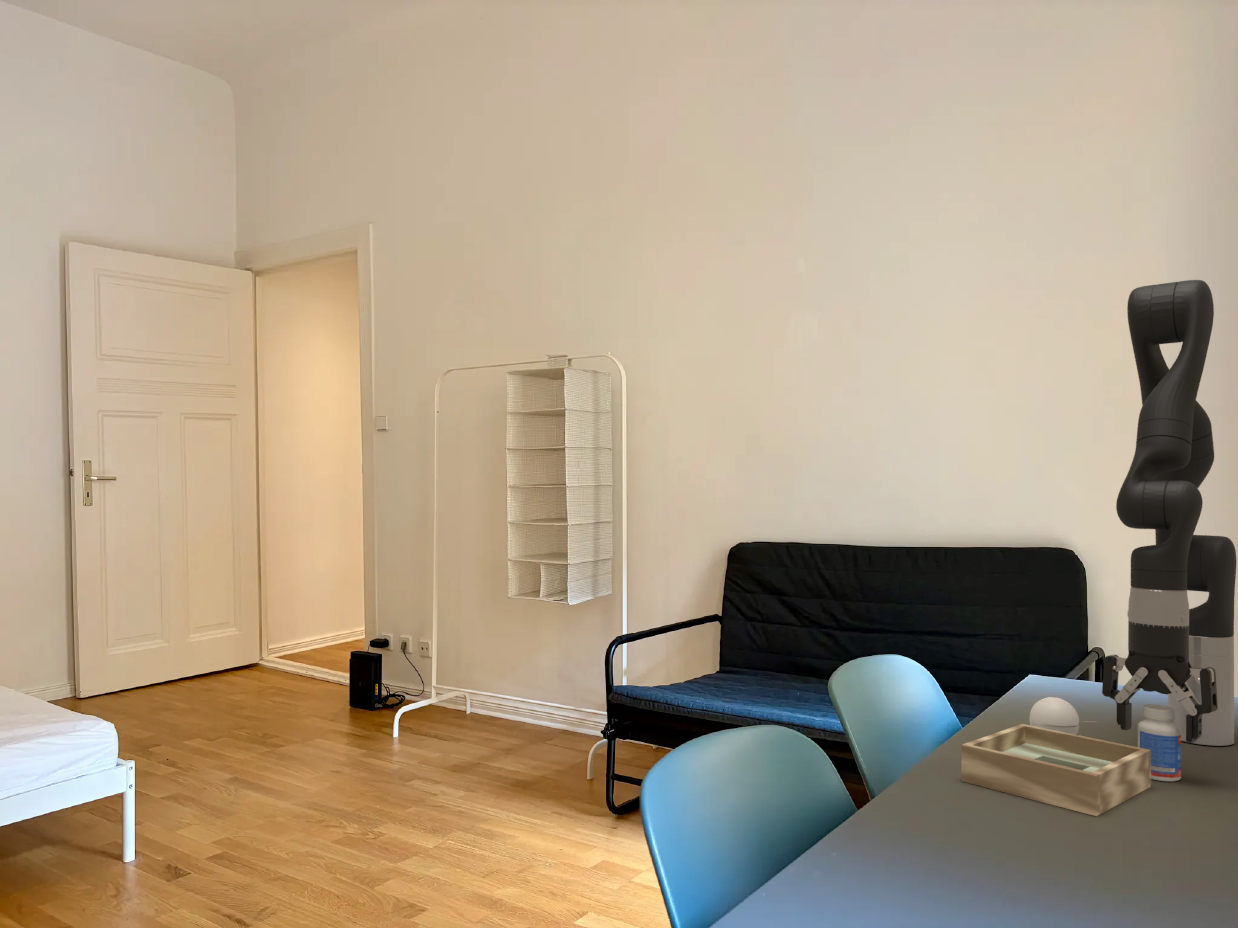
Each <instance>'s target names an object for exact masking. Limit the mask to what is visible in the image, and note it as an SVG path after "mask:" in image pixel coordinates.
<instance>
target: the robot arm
mask: <svg viewBox="0 0 1238 928" xmlns="http://www.w3.org/2000/svg"><path fill="white" fill-rule="evenodd" d="M1126 306H1127V309H1126V310H1127V312H1126V313H1127V322H1128V329H1129V335H1130V340H1131V344H1132V350H1133V354H1134V360H1135V365H1136V369H1137V370H1136V371H1137V375H1138V381H1139V388H1140V389H1139V390H1140V395H1141V408H1140V411H1139V416H1138V421H1137V430H1136V441H1135V452H1134V455H1133V458H1132V461H1131V463H1130V466H1129V470H1128V472H1127V474H1126V476H1125V478H1124V481H1123V483H1122V485H1121V487H1120V489H1119V491H1118V494H1117V499H1116V502H1115V503H1116V506H1115V508H1116V509H1115V510H1116V514H1117V517H1118V518H1119V520H1120V521H1121V523H1122V524H1123V525H1124V526H1125V527H1128V528H1130V529H1136V530H1138V529H1139V530H1154V531H1155V532H1154V533H1155V544H1151V545H1143V546H1139V547H1136V548H1134V549H1133V550H1132V552H1131V555H1130V591H1129V597H1128V610H1127V618H1128V622H1127V624H1128V627H1127V628H1128V630H1127V632H1128V634H1127V635H1128V637H1127V638H1128V639H1127V640H1128V641H1127V642H1128V644H1127V647H1128V648H1127V651H1128V654H1127V657H1126V658H1125V657H1122V656H1121V657H1120V656H1119V655H1118V654H1110V655H1106V656H1105V657H1104V659H1103V675H1102V689H1101V693H1102V695H1103V696H1104V697H1107V698H1110V699H1111V700H1114V701H1115V704H1116V723H1117V726H1120V730H1121V731H1122V730H1123V731H1128V730H1131V729H1132V724H1133V723H1132V722H1133V721H1132V712H1133V711H1132V709H1133V708H1132V707H1133V705H1132V702H1130V700H1131V699H1132V698H1133V697H1134V696H1135V695H1136V693H1138V692H1139V691H1140V690H1143V692H1150V693H1151V692H1157V693H1159V694H1161V695H1167V706H1169V707H1172V708H1174V709H1175V716H1176V717H1175V720H1173V722H1174V723H1175V724H1177V725H1178V726H1179V727H1180V729H1181V742H1186V743H1189V744H1190V743H1191V744H1196V745H1203V746H1205V745H1206V746H1216V747H1219V746H1220V747H1223V746H1230V745H1231V746H1232V745H1234V744H1235V637H1234V636H1235V631H1234V630H1235V626H1234V625H1235V596H1236V595H1235V593H1236V592H1235V590H1236V578H1237V551H1236V548H1235V547H1236V546H1235V544H1234V542H1233V541H1232V540H1231V538H1230V537H1227V536H1224V535H1207V534H1206V535H1205V534H1203V535H1202V534H1194V533H1195V531H1196V529H1197V525H1198V522H1199V520H1200V516H1201V514H1202V510H1203V497H1202V493H1201V491H1200V490H1199V488H1200V486H1201V485H1202V484H1203V482H1204V480H1205V479H1206V477H1207V476H1208V475H1209V473H1210V471H1211V469H1212V466H1213V464H1214V461H1215V449H1214V447H1215V446H1214V439H1213V438H1214V437H1213V427H1212V422H1211V419H1210V417H1209V415H1208V414H1207V411H1206V410H1205V409H1204V407H1202V405H1201V404H1200V403H1199V402H1198V401H1197V397H1198V392H1199V388H1200V384H1201V381H1202V377H1203V376H1202V375H1203V372H1204V368H1205V364H1206V358H1207V356H1208V355H1207V354H1208V349H1209V345H1210V341H1211V336H1212V331H1213V327H1214V325H1213V324H1214V315H1215V313H1214V312H1215V308H1214V300H1213V293H1212V291H1211V288H1210V286H1209V285H1208V283H1206V281H1205V280H1201V279H1188V280H1181V281H1180V280H1179V281H1173V282H1165V283H1157V284H1151V285H1143V286H1139V287H1136V288H1134V289H1133V290H1131V292H1130V293H1129V296H1128V299H1127V305H1126ZM1177 343H1178V344H1179V343H1182V344H1181V348H1180V350H1179V353H1178V355H1177V357H1176V358H1175V361H1174V362H1173V363H1172V365H1171V367H1170V368H1169V366H1168V365H1167V362H1166V361H1165V358H1164V356H1163V352H1162V350H1161V346H1160V345H1166V344H1177ZM1188 591H1189V592H1190V591H1191V592H1192V591H1193V592H1205V593H1208V597H1207V599H1206V601H1205V602H1203V603H1202V604H1200V605H1197V606H1194V607H1192V608H1190V603H1189V597H1188ZM1124 666H1125V668H1126V670H1127V671H1128V673H1129V674H1130V675H1131V678H1130V679H1129V680H1128V681H1127V682H1126V683H1125V684H1124V685H1123V686H1122V688H1121V690H1119V689H1118V685H1119V672H1120V671H1122V670H1123V668H1124Z"/></svg>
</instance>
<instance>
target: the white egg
mask: <svg viewBox="0 0 1238 928" xmlns="http://www.w3.org/2000/svg"><path fill="white" fill-rule="evenodd" d="M1081 722H1082V723H1098V721H1095V720H1094V721H1093V720H1092V721H1091V720H1089V721H1088V720H1087V721H1086V720H1085V721H1084V720H1082V721H1081ZM1081 722H1080V717H1079V714H1078V712H1077V710H1076V708H1075V707H1074V706H1073V705H1072V704H1071V703H1070V702H1068V701H1066V700H1064V699H1062V698H1060V697H1056V696H1055V697H1053V696H1048V697H1044V698H1042V699H1039V700H1038V701H1036V702H1035V703H1034V704H1033V706H1032V707H1031V710H1030V713H1029V725H1030V726H1035V727H1040V728H1045V729H1050V730H1055V731H1060V732H1065V733H1070V734H1075V735H1078V732H1079V729H1080V725H1081Z"/></svg>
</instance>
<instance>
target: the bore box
mask: <svg viewBox="0 0 1238 928" xmlns="http://www.w3.org/2000/svg"><path fill="white" fill-rule="evenodd" d="M960 746H961V752H960V754H961V756H960V757H961V759H960V760H961V764H960V765H961V767H960V768H961V769H960V770H961V772H960V773H961V776H960V779H961V780H960V781H961V782H963V783H967V784H972V785H975V786H979V787H983V788H987V789H991V790H993V791H998V792H1002V793H1005V794H1008V795H1009V794H1010V795H1013V796H1018V797H1020V798H1025V799H1030V800H1032V801H1036V802H1041V803H1044V804H1047V805H1051V806H1056V807H1059V808H1063V809H1067V810H1071V811H1074V812H1079V813H1082V814H1086V815H1090V816H1094V817H1099V816H1100V815H1102V814H1104V813H1106V812H1107V811H1109V810H1111V809H1113V808H1115V807H1117V806H1119V805H1120V804H1122V803H1124V802H1126V801H1128V800H1129V799H1132V798H1134V797H1135V796H1136V795H1138V794H1141V793H1143V792H1144V791H1147V790H1148V789H1150V788H1152V779H1151V750H1149V749H1144V748H1139V747H1138V746H1133V745H1127V744H1123V743H1119V742H1115V741H1109V740H1103V739H1098V738H1093V737H1089V736H1084V735H1078V734H1076V735H1075V734H1070V733H1065V732H1060V731H1055V730H1050V729H1045V728H1040V727H1035V726H1030V724H1025V723H1021V724H1017V725H1014V726H1012V727H1009V728H1006V729H1003V730H1001V731H998V732H995V733H991V734H989V735H985V736H983V737H981V738H978V739H975V740H971V741H968V742H966V743H963V744H961V745H960Z"/></svg>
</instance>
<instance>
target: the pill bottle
mask: <svg viewBox="0 0 1238 928" xmlns="http://www.w3.org/2000/svg"><path fill="white" fill-rule="evenodd" d="M1142 715H1143V717H1144V719H1142V720H1140V721H1138V723H1137V747H1139V748H1144V749H1149V750H1151V780H1155V781H1159V782H1160V781H1161V782H1176V781H1180V780H1181V779H1182V741H1181V729H1180V727H1179V726H1178V725H1177V724H1175V723H1174V722H1173V720H1175V717H1176V716H1175V709H1174V708H1172V707H1169V706H1168V705H1165V704H1164V705H1163V704H1162V705H1161V704H1153V703H1151V704H1150V703H1149V704H1143V705H1142Z"/></svg>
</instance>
